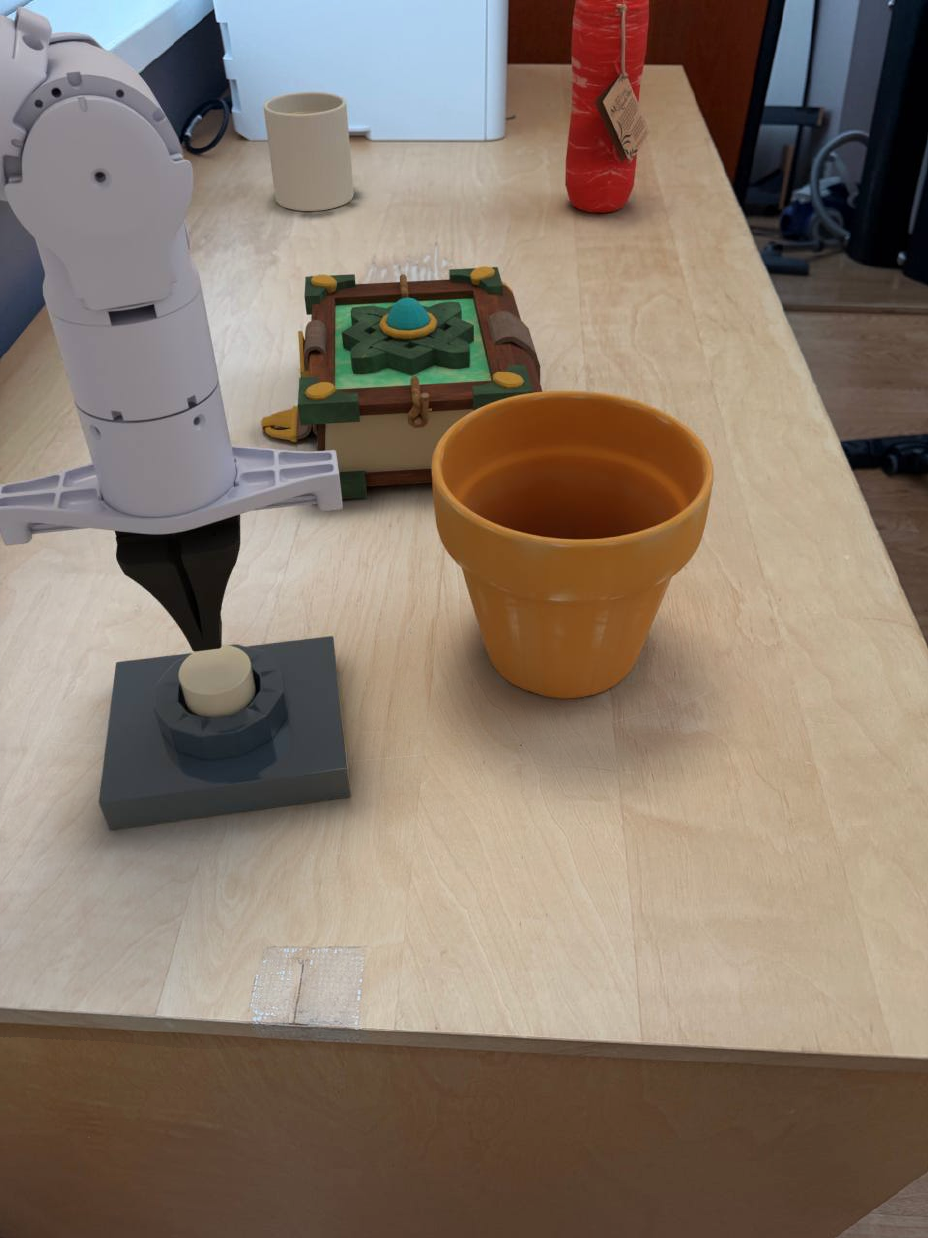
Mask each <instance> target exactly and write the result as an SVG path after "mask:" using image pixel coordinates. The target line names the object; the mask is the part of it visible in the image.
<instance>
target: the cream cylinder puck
mask: <svg viewBox="0 0 928 1238" xmlns="http://www.w3.org/2000/svg"><path fill="white" fill-rule="evenodd" d="M229 645H230V644H222V647H221V648H220V649H213V650H205V651H197V652H194V651H193V652H191V653H192V654H191V655H190V656H188V657H187V658H186V659H185V660H184V662H183V663H182V665H181V667H180V669H179V681H180V684H181V688H182V692H183V695H184V699H185V703H186V705H187V707H188V708H189V709H190V710H191V711H192V712H193V713H195V714H197V715H199V716H202V717H206V718H214V717H222V716H230V715H233V714H235V713H236V712H238V711H240V710H242V709H244V708H245V707H246V706H247V705H248V704H249V703H250V702H251V700H252V699H253V697H254V695H255V691H256V686H255V681H254V676H253V671H252V666H251V662H250V659H249V657H248V656H247V654H246V653H245V652H244V651H242V650H241V649H239V648H236V647H233V646H229Z"/></svg>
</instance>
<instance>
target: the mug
mask: <svg viewBox="0 0 928 1238" xmlns="http://www.w3.org/2000/svg"><path fill="white" fill-rule="evenodd" d="M263 114H264V122H265V130H266V137H267V144H268V152H269V160H270V167H271V173H272V174H271V175H272V182H273V191H274V198H275V201H276V203H277V204H278V205H279V206H281V207H282V208H285V209H289V210H294V211H301V212H316V211H317V212H318V211H319V212H320V211H327V210H333V209H335V208H339V207H341V206H344V205H346V204H348V203H349V202H351V201H352V200H353V198H354V195H355V192H354V182H353V179H354V178H353V171H352V170H353V168H352V157H351V145H350V132H349V121H348V108H347V101H346V99H345V98H344V97H343V96H341V95H338V94H335V93H331V92H323V91H298V92H289V93H284V94H280V95H277V96H273V97H272V98H270V99H267V100H266V101H265V102H264V103H263Z"/></svg>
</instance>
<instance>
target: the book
mask: <svg viewBox="0 0 928 1238" xmlns="http://www.w3.org/2000/svg"><path fill="white" fill-rule="evenodd" d="M448 276H449V277H448V278H449V279H430V280H411V281H408V277H407V275H406V274H404V273H403V274H400V275H399V281H393V282H392V281H390V282H389V281H388V282H373V283H356V274H355V273H351V274H350V273H349V274H331V275H330V274H329V275H328V274H316V275H310V276H305V278H304V279H305V281H304V295H303V297H304V306H305V314H306V316H310V315H311V319H310V321H309V322H307V324H306V326H305V329H304V330H305V331H304V332H303V331H302V330H298V331H297V335H298V349H299V350H298V351H299V352H298V353H299V367H300V376H299V377H298V378H299V379H298V395H297V397H298V398H297V405H293V406H292V408H288V409H285V410H281V411H278V412H275V413H273V414H270V415H268V416H263V417H262V418H261V423H260V424H261V430H262V432H263V433H265V434H267V435H268V436H270V437H272V438H276V439H282V440H285V441H291V443H297V442H298V440H301V439H304V438H306V437H308V436H309V434H310V433H311V432H313V434H314V435H315V436H317V441H316V442H317V444H316V445H317V446H316V447H317V448H316V451H329V450H335V451H336V454H337V462H338V469H339V477H340V486H341V494H342V500H346V499H347V500H349V499H364V498H368V492H367V490H368V488H367V487H376V486H377V487H379V486H393V485H394V486H395V485H411V484H412V485H413V484H427V483H432V468H431V465H432V457H433V453H434V450H435V448H436V446H437V443H438V442H439V440H440V439H441V437H442V436H443V435H444V434H445V432H446V431H447V430H448V429H449V428H450V427H451V426H452V425H454V424H455V423H456V422H457V421H459V420H460V419H461V418H463V417H464V416H466V415H467V414H469V413H471V412H473V411H474V410H476V409H478V408H481V407H483V406H485V405H488V404H490V403H493V402H496V401H499V400H502V399H505V398H509V397H513V396H517V395H523V394H529V393H536V392H544V391H543V389H542V384H541V364H540V361H539V357H538V353H537V351H536V348H535V344H534V341H533V337H532V335H531V332H530V329H529V327H528V326H527V325H526V324H525V322H523V321H522V318H521V315H520V312H519V308H518V305H517V302H516V298H515V295H514V291H513V290H512V288H511V287H510V286H509V285H508V284H507V283H506V282H505V281H502V277H501V273H500V271H499V267H498V266H479V267H470V268H467V267H466V268H451V269H448ZM303 333H304V334H303ZM276 427H279V428H285V429H275V428H276Z"/></svg>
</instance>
